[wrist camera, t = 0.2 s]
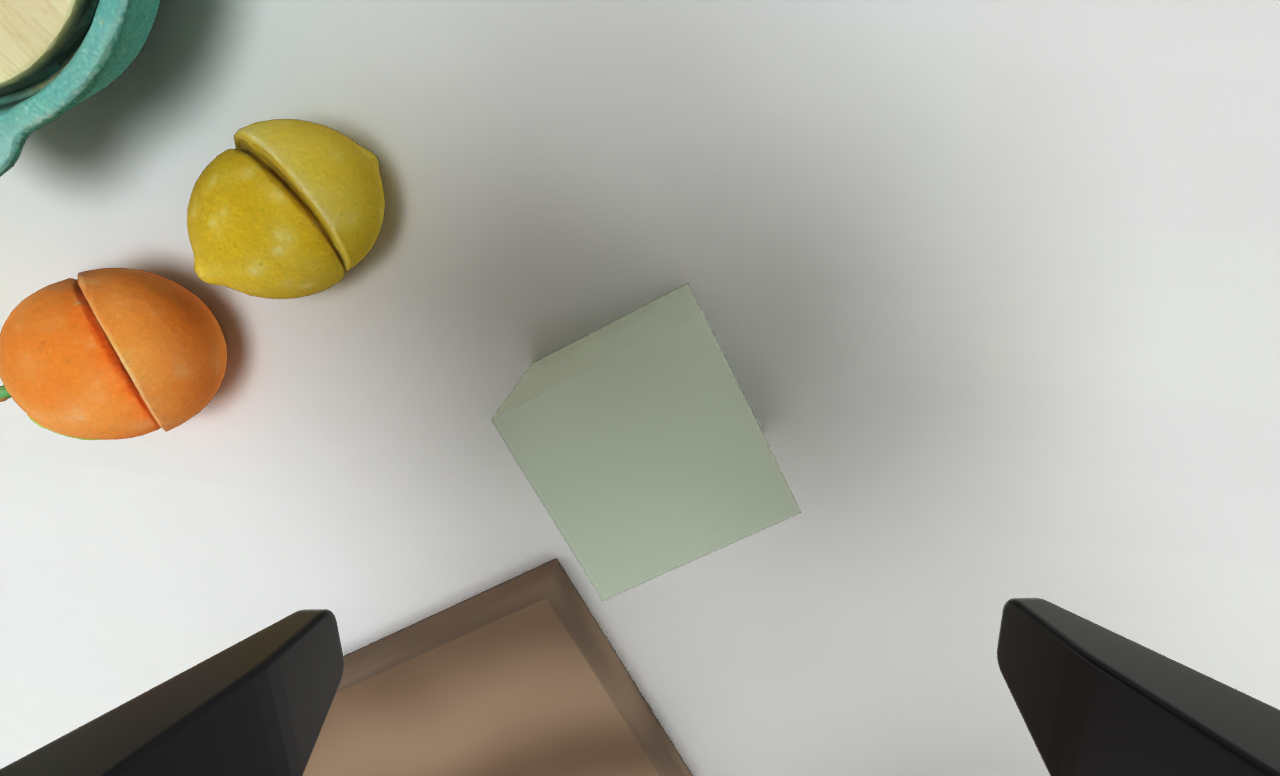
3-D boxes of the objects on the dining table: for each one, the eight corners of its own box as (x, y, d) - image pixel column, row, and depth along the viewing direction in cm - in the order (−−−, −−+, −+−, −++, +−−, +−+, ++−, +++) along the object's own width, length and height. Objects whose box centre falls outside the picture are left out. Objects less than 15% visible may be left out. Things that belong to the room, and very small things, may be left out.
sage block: (762, 433, 23) (801, 512, 17) (614, 503, 24) (602, 600, 18) (688, 282, 21) (702, 313, 15) (532, 362, 22) (491, 420, 16)
